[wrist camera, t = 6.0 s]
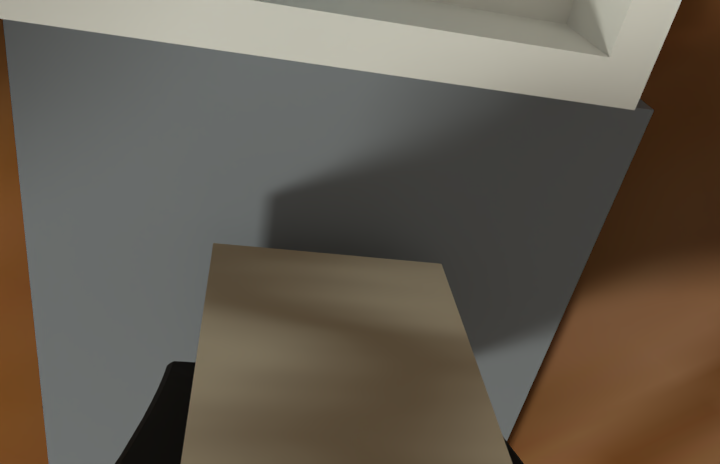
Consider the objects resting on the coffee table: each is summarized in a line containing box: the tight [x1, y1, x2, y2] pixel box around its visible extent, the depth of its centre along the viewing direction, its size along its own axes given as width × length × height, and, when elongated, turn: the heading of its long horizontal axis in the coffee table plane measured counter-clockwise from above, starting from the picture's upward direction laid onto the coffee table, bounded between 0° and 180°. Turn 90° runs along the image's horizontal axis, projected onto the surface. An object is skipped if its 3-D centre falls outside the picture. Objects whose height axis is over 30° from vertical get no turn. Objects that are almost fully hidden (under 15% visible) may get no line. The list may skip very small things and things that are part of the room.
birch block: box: [181, 243, 512, 464], centre depth 12 cm, size 4×4×5 cm
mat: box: [3, 19, 654, 464], centre depth 15 cm, size 12×12×1 cm
